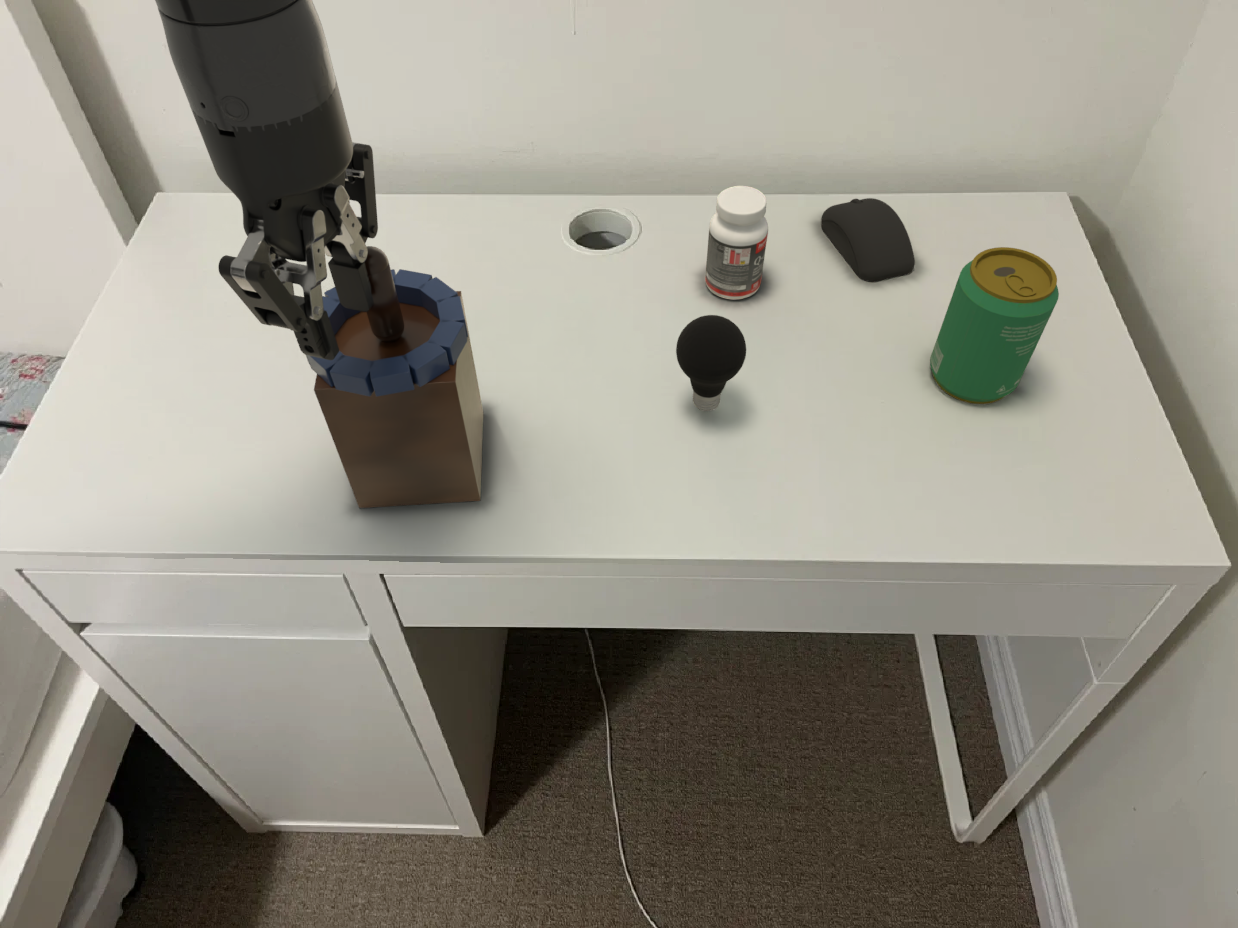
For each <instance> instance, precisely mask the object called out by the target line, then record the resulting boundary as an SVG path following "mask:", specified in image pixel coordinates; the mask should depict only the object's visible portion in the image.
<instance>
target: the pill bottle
mask: <svg viewBox="0 0 1238 928" xmlns="http://www.w3.org/2000/svg"><path fill="white" fill-rule="evenodd" d="M767 202H768V201H767V197H766V196H765V194H764V193H763V192H762V191H760V190H759V189H757V188H755V187H751V186H747V185H735V186H730V187H727V188H724V189H723V190H722V191H721V192H719V194H718V195H717V198H716V205H715V211H716V212H715V213H714V214H713V215H712V217H711V218H710V221H709V226H708V239H707V251H706V263H705V275H704V277H705V278H704V281H705V284H706V287H707V288H708V290H709V291H710V292H711V293H712V294H714V295H715V296H717V297H720V298H722V299H726V300H742V299H746V298H749V297H751V296H753V295H755V293H756V292H757V291H758V290H759V289H760V287H761V284H762V279H763V271H764V264H765V257H766V256H765V255H766V250H767V241H768V236H769V224H768V223H769V222H768V220H767V218H766V213H767V204H768V203H767Z"/></svg>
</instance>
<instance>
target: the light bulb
mask: <svg viewBox="0 0 1238 928" xmlns="http://www.w3.org/2000/svg"><path fill="white" fill-rule="evenodd" d="M675 347H676V348H675V354H676V355H675V356H676V360H677V363H678V366H679V367H680V369H681V371H682V372H683V373H684V375H686V377H688V378H689V380H690V385H691V389H692V403H693V405H694V407H696V409H698V410H700V411H702V412H711V411H714V410H716V409H717V408H719V406H720V404H721V398H722V392H723V391H724V389H725V387H726V384H727V382H729V381H730V380H732V379H734V377H735V376H736V375H737V374H738V373H739V372H740V370H741V369H742V368H743V365H744V363H745V360H746V356H747V343H746V339H745V336H744V334H743V332H742V330H741V329H740V328H739V326H738V325H737V324H736V323H735V322H733V321H732V320H730V319H729V318H727V317H724V316H721V315H717V314H707V315H702V316H699V317H697V318H694V319H693V320H691V321H689V323H687V324H686V325H685V327H683V329H682V330H681V332H680V334H679V336H678V338H677V341H676V346H675Z"/></svg>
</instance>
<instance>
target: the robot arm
mask: <svg viewBox="0 0 1238 928" xmlns="http://www.w3.org/2000/svg"><path fill="white" fill-rule="evenodd" d="M154 2H155V4H156V6H157V10H158V13H159V17H160V19H161V22H162V27H163V31H164V35H165V40H166V44H167V48H168V52H169V55H170V57H171V60H172V61H171V62H172V64H173V66H174V69H175V71H176V73H177V76H178V79H179V81H180V84H181V86H182V89H183V91H184V94H185V97H186V99H187V102H188V103H189V104H188V105H189V107H190V110H191V112H192V115H193V117H194V120H195V122H196V125H197V128H198V130H199V133H200V135H201V138H202V140H203V143H204V146H205V148H206V150H207V153H208V156H209V159H210V161H211V164H212V166H213V169H214V171H215V174H216V175H217V177H218V178H219V180H220V182H222V183H223V185H225V187H227V188H228V189H229V190H230V191H231V192H232V193H233V194H234V196H235V197H236V198H237V199H238V201H239V202H240V204H241V209H242V210H241V211H242V226H243V230H244V232H245V235H246V236H247V237H246V239H245V241H244V243H243V244H242V246H241V248H240V250H239V252H238V254H237V256H232V255H226V254H225V255H223V256H222V257H221V258H220V259H219V262H218V267H217V268H218V273H219V275H220V276H221V278H222V279H223V280H224V281H225V282H226V284H227V285H228V286H229V287H230V288H231V290H233V292H234V293H235V294H236V296H237V297H238V298H239V299H240V300H241V301H242V303H243V304H244V305H245V306H246V307H247V309H249V312H251V313H252V315H253V316H254V317H255V318H256V319H257V320H258V322H259V323H260V324H262V325H266V326H269V327H270V326H274V327H278V328H282V329H287V330H290V331H293V334H294V336H295V339H296V342H297V344H298V347H299V350H300V351H301V353H302V354H303V355H304V356H306V355H309V356H313V357H317V358H322V359H326V360H333V359H334V358H335V357H336V355H337V354H338V352H339V347H338V344H337V341H336V338H335V335H334V332H333V329H332V326H331V323H330V320H329V317H328V314H327V311H325V310H324V307H323V298H322V296H323V290H322V282H324V281H325V280H326V279H327V278H328V269H327V265H328V268H329V272H330V275H331V278H332V282H333V284H334V287H335V288H336V291H337V294H338V298H339V301H340V303H341V305H342V306H344V307H345V308H348V309H352V310H357V311H362V312H368V311H369V310H370V308H371V307H372V305H373V304H374V301H373V297H372V294H371V285H370V281H369V277H368V274H367V270H366V266H365V263H364V262H365V260H366V258H367V253H368V251H367V247H366V246H367V244H366V243H367V240H368V238H369V239H375V238H376V236H377V235H378V230H379V223H378V222H379V221H378V209H377V208H378V207H377V195H376V193H377V192H376V181H375V180H376V179H375V178H376V177H375V166H374V153H373V148H372V146H371V145H370V144H367V143H366V144H365V143H359V142H354V141H353V139H352V136H351V131H350V127H349V123H348V118H347V116H346V112H345V109H344V104H343V101H342V96H341V93H340V89H339V85H338V81H337V78H336V77H337V76H336V73H335V69H334V66H333V65H334V64H333V62H332V58H331V54H330V53H331V52H330V49H329V46H328V41H327V37H326V34H325V30H324V28H323V24H322V21H321V19H320V16H319V14H318V11H317V9H316V6H315V4H314V1H313V0H154ZM350 201H353V202H357V203H358V204H359V207H360V216H357V214H356V213H355V211H354V209H353V208H352V205H351V204H350V203H351V202H350ZM326 256H327V257H330V260H329V261H328V262H327V261H326V259H327V258H326ZM291 261H294V262H291ZM296 262H297V263H296ZM298 262H299V263H298ZM300 263H306V265H305V264H300ZM294 284H295V285H298V286H300V287H301V288H302V292H303V296H301V295H296V294H295V289H294Z"/></svg>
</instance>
